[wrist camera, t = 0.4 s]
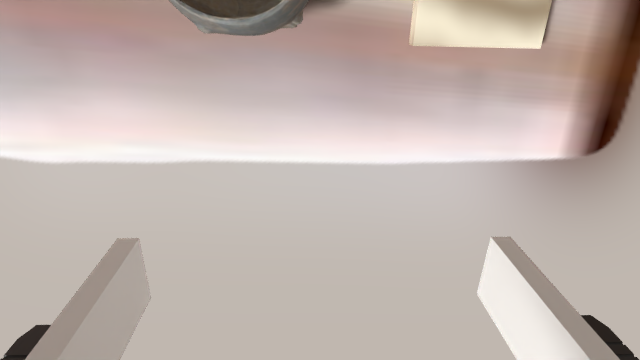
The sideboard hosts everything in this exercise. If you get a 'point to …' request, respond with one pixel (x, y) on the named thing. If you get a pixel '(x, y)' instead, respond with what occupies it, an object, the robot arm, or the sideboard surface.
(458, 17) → the board
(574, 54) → the sideboard surface
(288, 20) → the bowl
